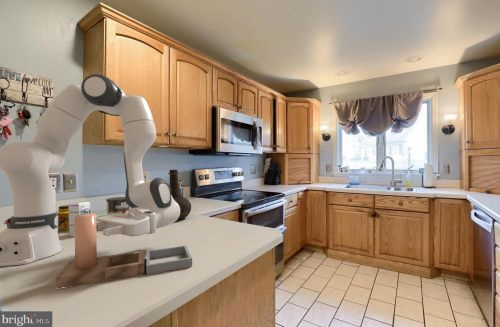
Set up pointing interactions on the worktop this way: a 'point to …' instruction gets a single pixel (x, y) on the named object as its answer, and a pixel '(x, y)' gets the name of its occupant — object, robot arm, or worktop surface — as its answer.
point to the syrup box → (77, 213)
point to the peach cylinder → (85, 241)
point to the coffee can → (117, 206)
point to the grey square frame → (168, 264)
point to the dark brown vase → (179, 195)
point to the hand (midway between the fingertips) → (95, 230)
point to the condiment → (63, 219)
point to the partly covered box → (103, 269)
